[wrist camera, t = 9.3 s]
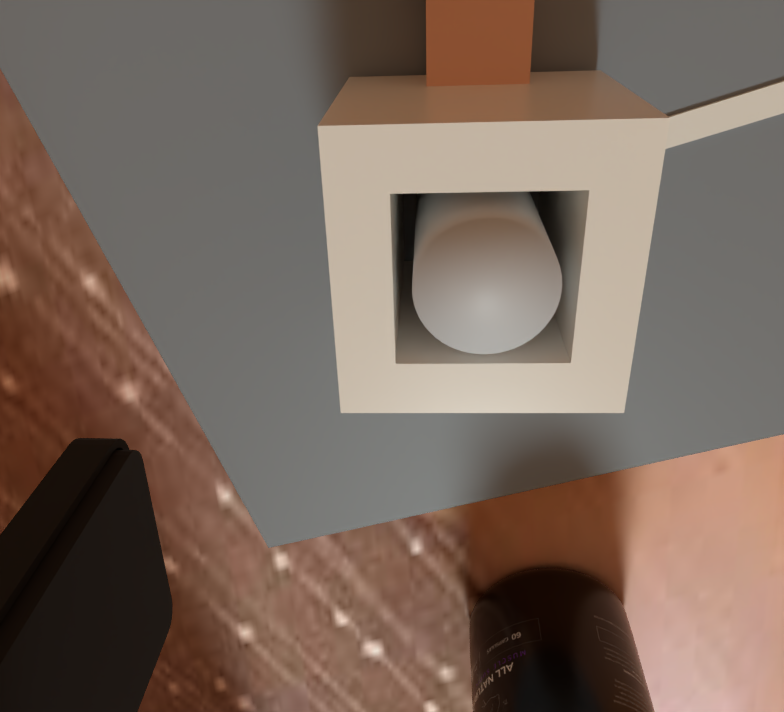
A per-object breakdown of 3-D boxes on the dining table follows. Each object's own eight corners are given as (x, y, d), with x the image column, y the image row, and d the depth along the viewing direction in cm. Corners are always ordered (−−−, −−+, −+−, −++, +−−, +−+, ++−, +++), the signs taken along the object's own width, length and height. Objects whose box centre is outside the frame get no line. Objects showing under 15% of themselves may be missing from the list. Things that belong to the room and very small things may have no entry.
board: (278, 511, 29) (225, 706, 21) (-45, -93, 19) (-357, -124, 11) (858, 378, 25) (1046, 563, 17) (841, -498, 15) (1276, -974, 7)
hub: (576, 299, 21) (624, 413, 16) (362, 301, 21) (340, 413, 16) (625, -163, 16) (723, -222, 10) (336, -151, 16) (291, -200, 11)
